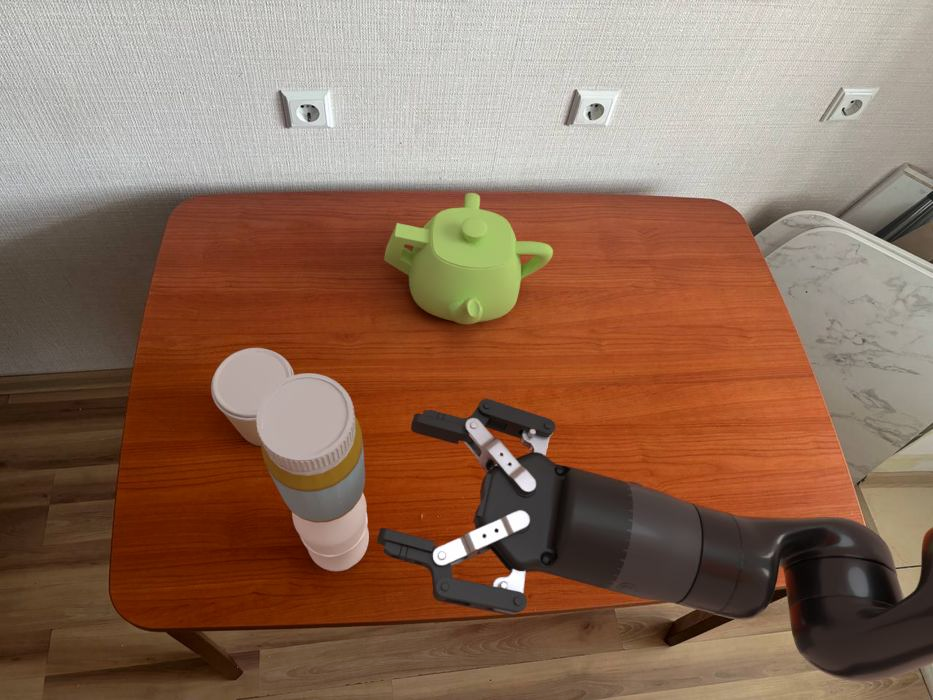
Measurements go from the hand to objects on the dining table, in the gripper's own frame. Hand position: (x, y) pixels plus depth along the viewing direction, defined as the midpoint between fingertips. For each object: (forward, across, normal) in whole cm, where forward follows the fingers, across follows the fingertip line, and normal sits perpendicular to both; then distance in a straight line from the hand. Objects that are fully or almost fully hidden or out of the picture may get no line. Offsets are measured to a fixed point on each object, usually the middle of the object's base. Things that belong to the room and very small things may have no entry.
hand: (396, 475), depth 42 cm
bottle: (+6, +1, -10) cm, 12 cm away
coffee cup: (+21, +14, -35) cm, 43 cm away
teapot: (+1, +41, -35) cm, 54 cm away
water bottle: (+7, +1, -35) cm, 36 cm away
